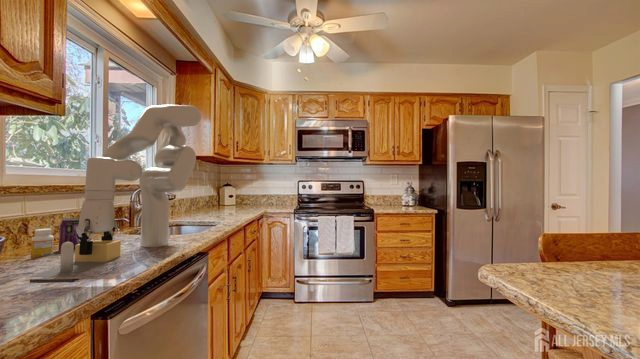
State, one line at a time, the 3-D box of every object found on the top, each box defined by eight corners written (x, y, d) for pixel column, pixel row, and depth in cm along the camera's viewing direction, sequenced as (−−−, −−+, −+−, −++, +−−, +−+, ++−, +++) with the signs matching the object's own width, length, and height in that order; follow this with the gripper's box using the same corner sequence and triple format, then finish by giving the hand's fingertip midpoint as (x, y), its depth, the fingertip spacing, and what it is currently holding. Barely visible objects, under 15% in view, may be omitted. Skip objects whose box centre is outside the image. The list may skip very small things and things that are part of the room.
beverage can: (72, 254, 102) (73, 220, 102) (52, 254, 102) (54, 219, 103) (89, 250, 109) (90, 218, 110) (70, 249, 109) (71, 217, 110)
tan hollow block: (90, 255, 95) (91, 240, 95) (120, 255, 96) (120, 240, 96) (74, 261, 88) (75, 244, 88) (106, 261, 89) (107, 244, 89)
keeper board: (94, 258, 97) (95, 230, 97) (125, 258, 98) (126, 230, 98) (29, 282, 73) (31, 245, 74) (72, 282, 74) (73, 245, 74)
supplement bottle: (36, 257, 97) (37, 228, 98) (56, 256, 99) (57, 227, 99) (26, 261, 92) (27, 230, 92) (48, 260, 94) (49, 230, 94)
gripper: (104, 196, 100) (101, 246, 99) (65, 196, 83) (61, 257, 82) (127, 196, 101) (125, 246, 100) (94, 197, 84) (90, 257, 83)
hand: (96, 251), depth 91 cm, fingers open, 9 cm apart
